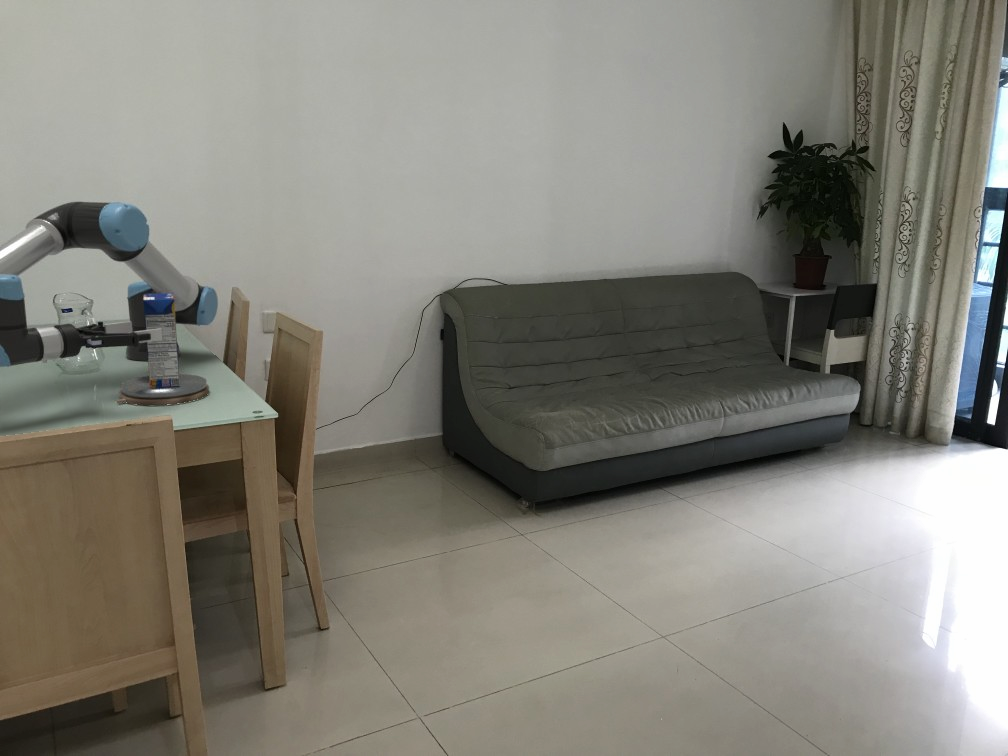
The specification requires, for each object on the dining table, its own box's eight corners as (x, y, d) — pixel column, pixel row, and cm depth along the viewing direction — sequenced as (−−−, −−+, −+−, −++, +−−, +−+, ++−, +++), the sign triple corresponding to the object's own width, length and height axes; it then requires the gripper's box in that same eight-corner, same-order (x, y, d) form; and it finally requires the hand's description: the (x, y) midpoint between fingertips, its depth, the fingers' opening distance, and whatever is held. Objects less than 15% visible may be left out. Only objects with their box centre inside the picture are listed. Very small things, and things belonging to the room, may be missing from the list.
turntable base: (180, 380, 220) (179, 375, 220) (225, 394, 208) (225, 388, 207) (96, 396, 202) (95, 390, 202) (140, 412, 190) (140, 406, 190)
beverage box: (149, 389, 199) (143, 300, 194) (149, 378, 209) (143, 293, 203) (179, 387, 202) (174, 299, 196) (178, 377, 211) (173, 293, 206)
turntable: (179, 375, 219) (178, 370, 219) (222, 388, 207) (222, 382, 207) (105, 389, 204) (105, 383, 203) (148, 403, 192) (148, 397, 191)
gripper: (32, 350, 190) (120, 338, 207) (85, 367, 175) (175, 352, 192) (29, 318, 188) (118, 309, 205) (81, 333, 174) (173, 321, 190)
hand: (146, 330), depth 198 cm, fingers open, 13 cm apart
